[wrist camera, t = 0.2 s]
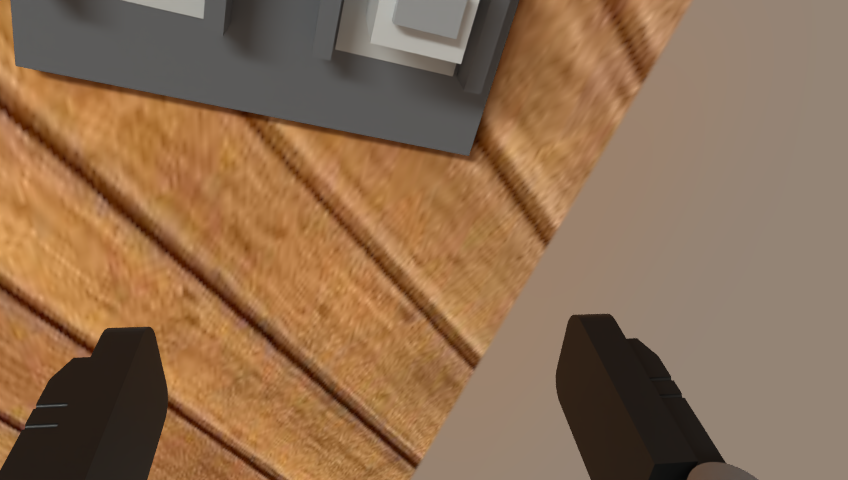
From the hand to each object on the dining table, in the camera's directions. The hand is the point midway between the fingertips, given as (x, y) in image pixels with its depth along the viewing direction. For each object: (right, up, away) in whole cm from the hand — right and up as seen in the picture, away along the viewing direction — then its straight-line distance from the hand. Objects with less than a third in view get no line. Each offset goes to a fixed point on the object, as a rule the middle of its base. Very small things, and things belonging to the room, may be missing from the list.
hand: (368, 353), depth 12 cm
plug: (+1, +16, +21) cm, 27 cm away
